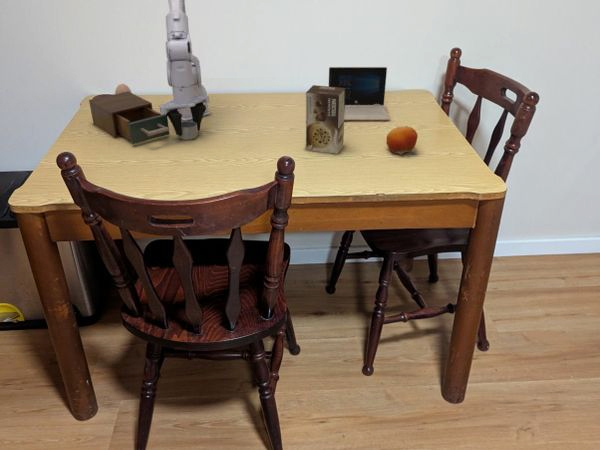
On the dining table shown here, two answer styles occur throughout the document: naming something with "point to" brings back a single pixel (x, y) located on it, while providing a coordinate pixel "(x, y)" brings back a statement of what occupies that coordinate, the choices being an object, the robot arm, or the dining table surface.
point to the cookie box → (325, 118)
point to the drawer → (141, 124)
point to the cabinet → (114, 109)
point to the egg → (122, 89)
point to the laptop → (361, 91)
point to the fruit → (402, 139)
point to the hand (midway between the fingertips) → (187, 132)
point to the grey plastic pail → (189, 130)
